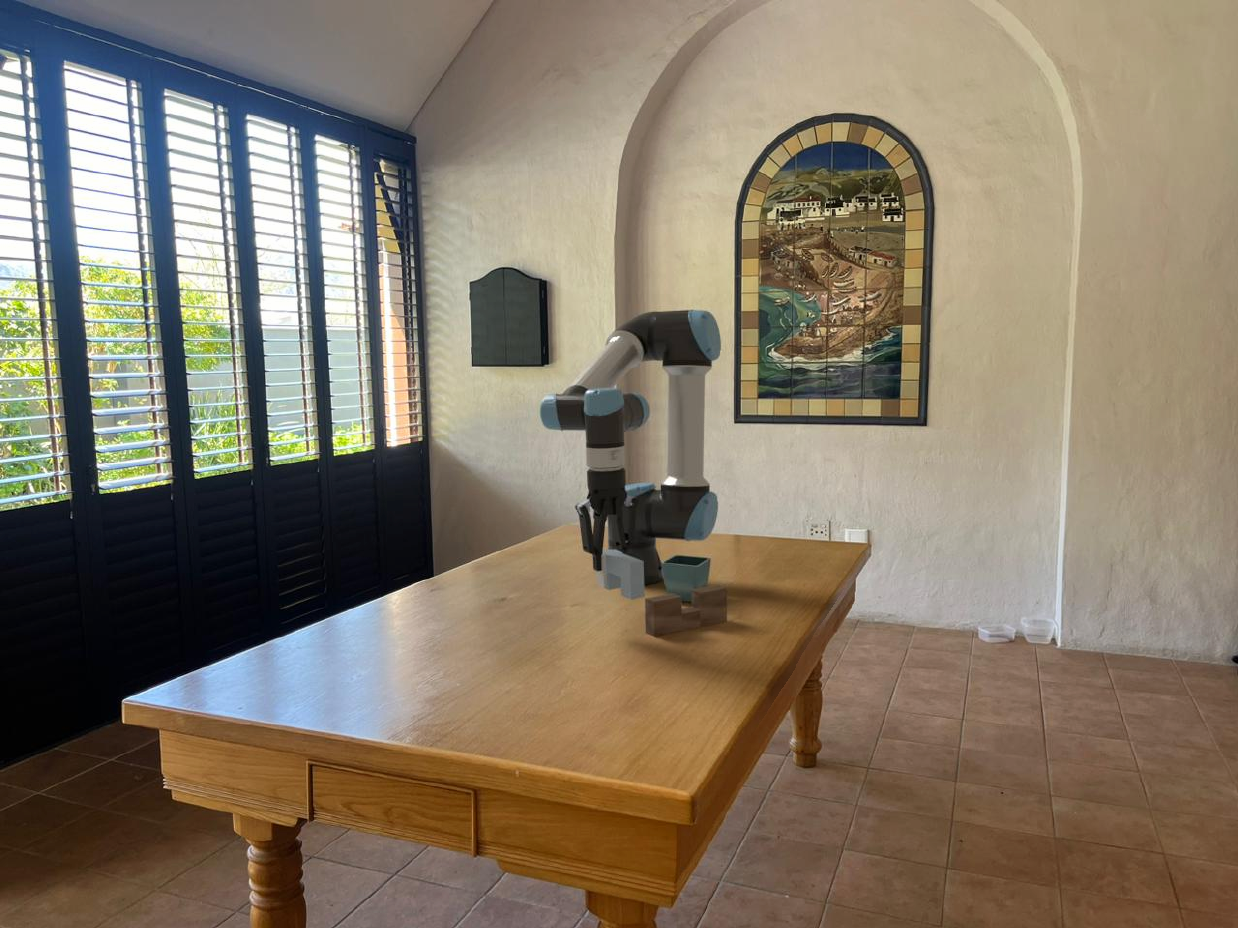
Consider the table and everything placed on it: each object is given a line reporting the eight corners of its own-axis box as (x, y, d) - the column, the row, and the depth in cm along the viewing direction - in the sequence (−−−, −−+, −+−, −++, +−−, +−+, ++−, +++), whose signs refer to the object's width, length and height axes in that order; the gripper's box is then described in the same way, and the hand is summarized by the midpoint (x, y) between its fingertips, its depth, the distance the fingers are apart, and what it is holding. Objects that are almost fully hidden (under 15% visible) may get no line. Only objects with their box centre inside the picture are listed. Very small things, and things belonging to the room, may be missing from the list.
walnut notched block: (645, 632, 187) (644, 598, 186) (718, 617, 196) (717, 584, 195) (653, 636, 184) (653, 601, 183) (726, 620, 193) (726, 587, 192)
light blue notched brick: (599, 585, 187) (598, 551, 186) (612, 583, 188) (611, 549, 187) (631, 599, 177) (629, 563, 176) (644, 596, 178) (643, 561, 177)
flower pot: (712, 595, 213) (711, 557, 212) (698, 606, 205) (698, 565, 204) (675, 592, 216) (675, 554, 215) (661, 602, 209) (660, 562, 207)
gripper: (579, 474, 175) (584, 596, 179) (651, 465, 183) (654, 581, 187) (560, 470, 182) (565, 587, 185) (630, 461, 190) (634, 573, 193)
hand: (610, 584), depth 186 cm, fingers closed on light blue notched brick, 3 cm apart
